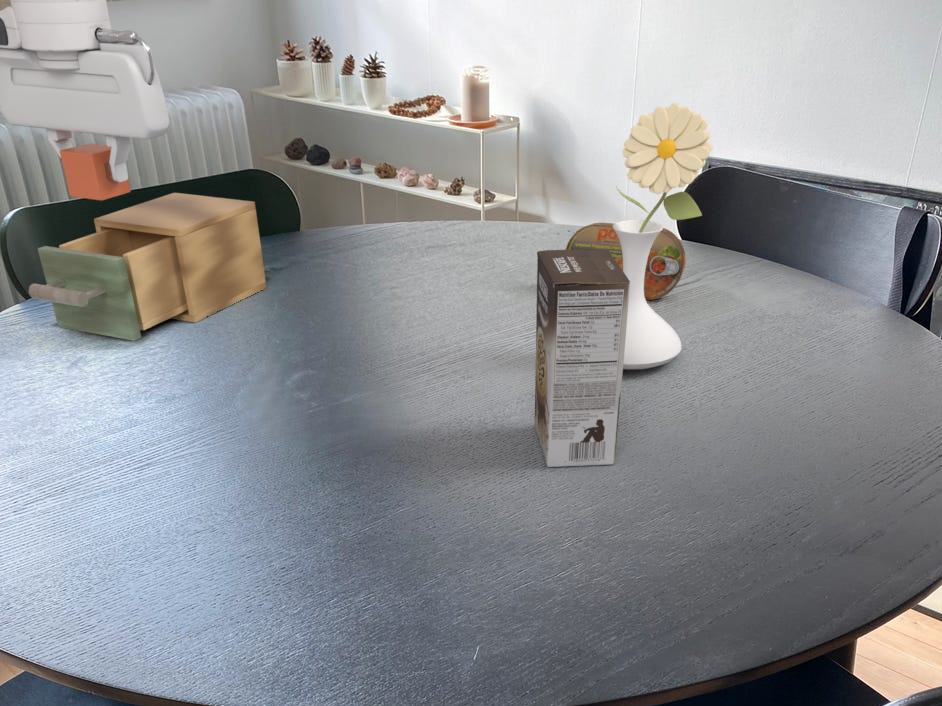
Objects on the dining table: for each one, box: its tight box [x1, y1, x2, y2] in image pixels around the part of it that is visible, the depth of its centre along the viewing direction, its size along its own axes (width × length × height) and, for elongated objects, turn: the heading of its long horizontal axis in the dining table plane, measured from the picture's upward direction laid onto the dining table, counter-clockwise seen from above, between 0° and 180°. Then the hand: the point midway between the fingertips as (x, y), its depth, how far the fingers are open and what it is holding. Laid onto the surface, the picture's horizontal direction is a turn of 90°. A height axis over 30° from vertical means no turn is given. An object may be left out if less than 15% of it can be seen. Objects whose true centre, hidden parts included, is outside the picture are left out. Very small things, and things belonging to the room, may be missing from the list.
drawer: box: [28, 228, 188, 342], centre depth 113 cm, size 18×11×9 cm, turn 155°
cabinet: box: [93, 192, 267, 323], centre depth 122 cm, size 15×13×11 cm
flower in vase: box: [613, 102, 713, 370], centre depth 99 cm, size 13×11×25 cm
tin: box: [565, 222, 686, 301], centre depth 122 cm, size 15×3×8 cm, turn 68°
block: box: [60, 142, 132, 202], centre depth 105 cm, size 4×4×4 cm
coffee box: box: [534, 248, 630, 468], centre depth 85 cm, size 9×6×16 cm
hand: (96, 178), depth 105 cm, fingers closed on block, 4 cm apart
